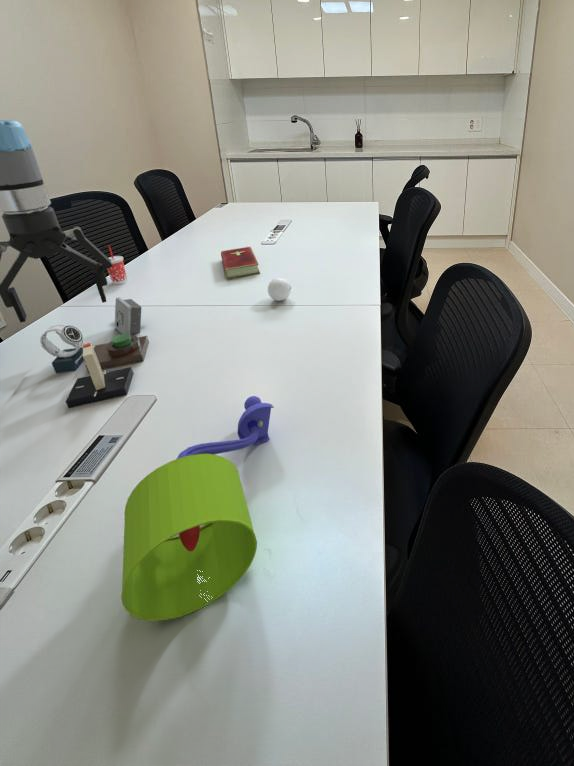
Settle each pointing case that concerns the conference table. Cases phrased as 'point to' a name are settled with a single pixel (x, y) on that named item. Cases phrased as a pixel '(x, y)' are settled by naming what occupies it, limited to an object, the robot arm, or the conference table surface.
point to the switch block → (121, 353)
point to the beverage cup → (117, 269)
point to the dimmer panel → (87, 393)
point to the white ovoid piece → (279, 289)
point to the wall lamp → (190, 527)
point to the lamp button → (121, 340)
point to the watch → (67, 357)
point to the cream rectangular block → (93, 366)
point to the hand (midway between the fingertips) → (65, 309)
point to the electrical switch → (127, 316)
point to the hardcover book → (239, 262)
